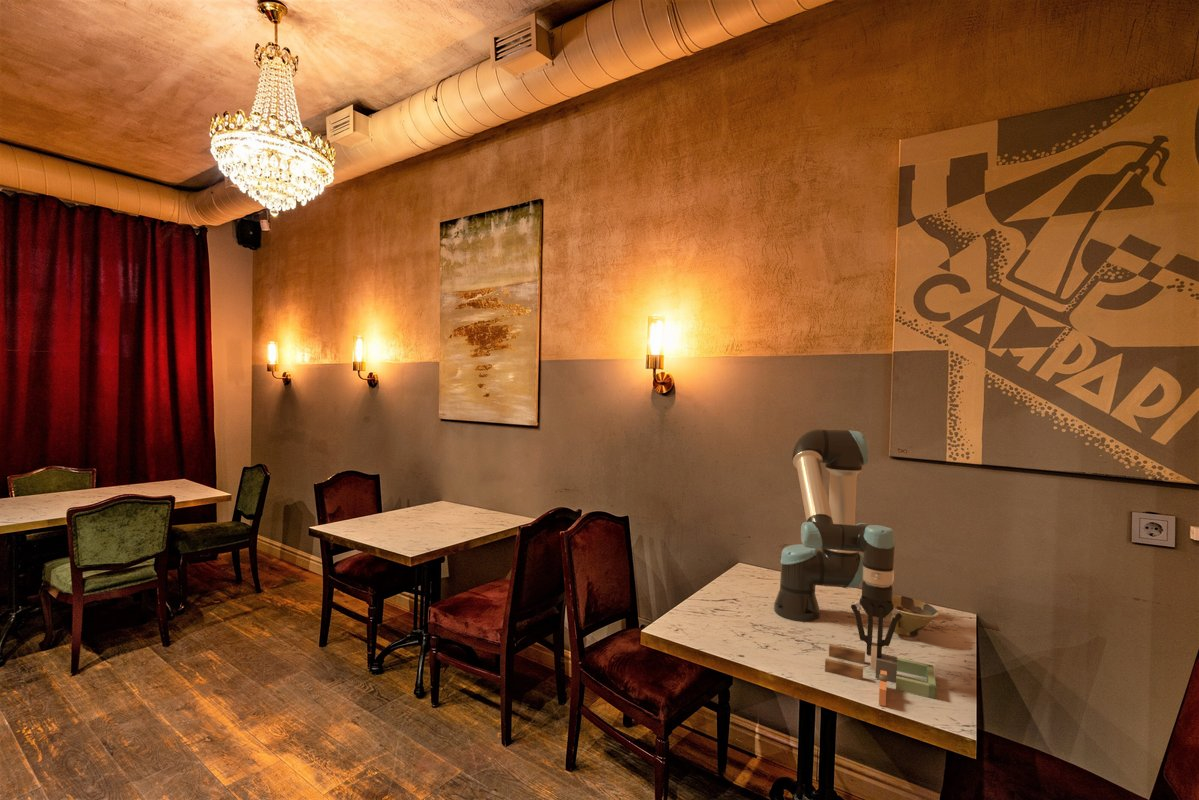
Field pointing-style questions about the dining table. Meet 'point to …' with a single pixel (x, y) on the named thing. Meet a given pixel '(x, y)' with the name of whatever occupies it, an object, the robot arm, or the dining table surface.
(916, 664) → the bracket
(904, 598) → the bowl
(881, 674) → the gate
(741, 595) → the dining table surface
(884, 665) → the block
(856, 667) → the clip rails
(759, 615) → the dining table surface
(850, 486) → the robot arm
